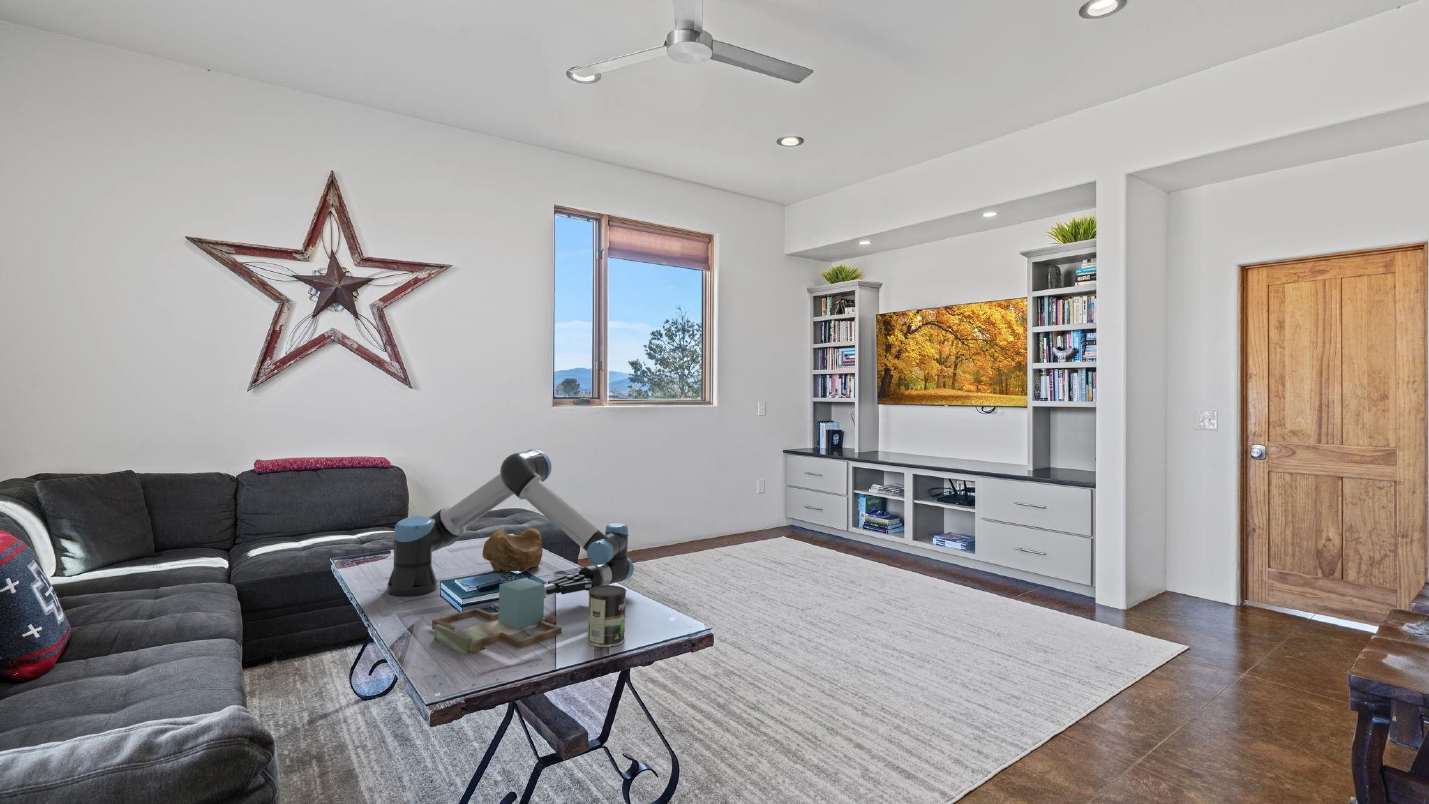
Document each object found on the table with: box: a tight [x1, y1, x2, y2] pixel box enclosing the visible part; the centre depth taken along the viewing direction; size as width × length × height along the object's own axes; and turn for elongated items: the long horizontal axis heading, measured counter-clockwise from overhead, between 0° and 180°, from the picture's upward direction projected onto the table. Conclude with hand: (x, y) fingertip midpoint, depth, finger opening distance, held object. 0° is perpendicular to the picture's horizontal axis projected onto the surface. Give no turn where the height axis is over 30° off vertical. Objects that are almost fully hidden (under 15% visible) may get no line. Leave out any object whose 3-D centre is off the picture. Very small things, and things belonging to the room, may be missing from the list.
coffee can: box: [587, 584, 627, 648], centre depth 189 cm, size 10×10×14 cm
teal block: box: [498, 577, 545, 629], centre depth 199 cm, size 9×9×11 cm
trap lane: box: [431, 607, 563, 656], centre depth 192 cm, size 29×31×4 cm
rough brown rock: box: [482, 527, 544, 572], centre depth 255 cm, size 23×17×15 cm
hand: (535, 593), depth 202 cm, fingers closed
